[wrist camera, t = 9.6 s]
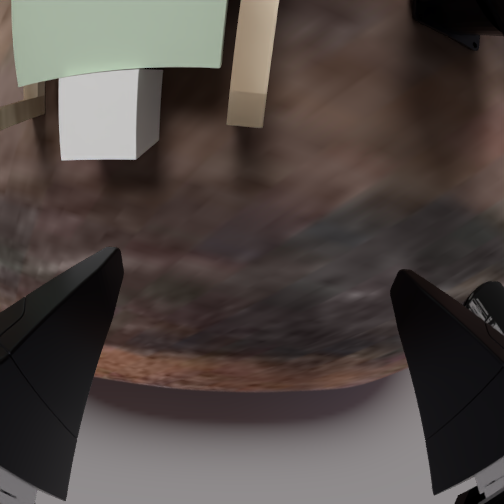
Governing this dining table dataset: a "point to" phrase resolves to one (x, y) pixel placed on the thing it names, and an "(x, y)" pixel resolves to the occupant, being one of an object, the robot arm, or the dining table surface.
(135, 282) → the dining table surface
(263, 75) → the trapdoor frame
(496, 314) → the beverage can
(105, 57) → the trapdoor
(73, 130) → the plain light gray cube
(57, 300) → the robot arm
